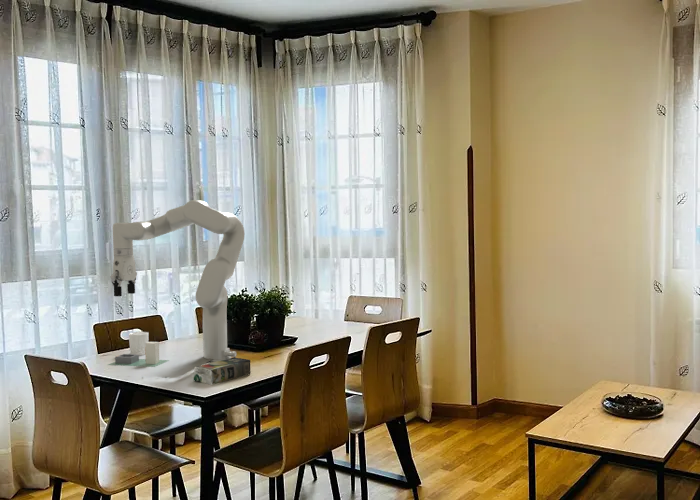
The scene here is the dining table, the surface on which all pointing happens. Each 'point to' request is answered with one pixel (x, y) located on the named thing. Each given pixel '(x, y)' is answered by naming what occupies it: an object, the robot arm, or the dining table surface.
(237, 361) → the juice carton
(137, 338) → the white cup
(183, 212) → the robot arm
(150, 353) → the cream rectangular block
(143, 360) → the board
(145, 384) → the dining table surface
